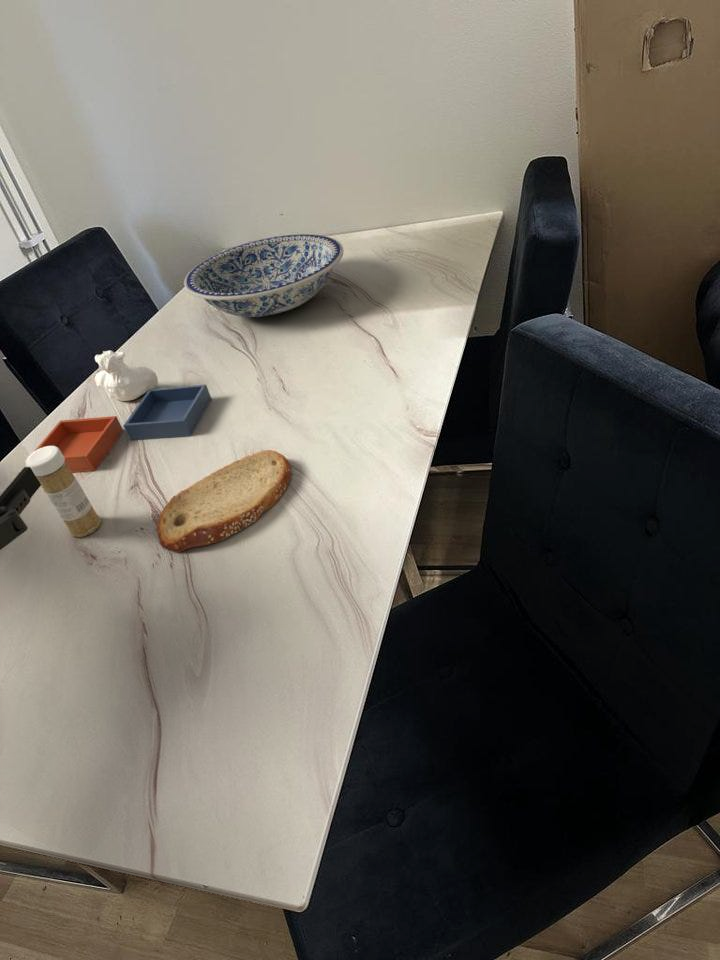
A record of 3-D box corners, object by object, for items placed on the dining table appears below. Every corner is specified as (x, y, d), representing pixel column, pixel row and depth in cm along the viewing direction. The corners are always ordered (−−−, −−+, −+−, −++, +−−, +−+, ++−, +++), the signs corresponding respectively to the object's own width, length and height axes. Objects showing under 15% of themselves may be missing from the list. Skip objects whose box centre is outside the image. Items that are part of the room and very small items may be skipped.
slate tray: (130, 440, 113) (123, 425, 111) (155, 403, 121) (149, 389, 119) (190, 436, 110) (184, 421, 108) (211, 399, 119) (206, 384, 117)
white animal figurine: (108, 409, 128) (71, 389, 117) (110, 372, 130) (74, 349, 119) (165, 403, 125) (132, 382, 115) (166, 365, 127) (134, 341, 116)
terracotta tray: (35, 474, 110) (26, 459, 108) (68, 434, 119) (60, 420, 117) (95, 471, 108) (86, 456, 106) (123, 430, 116) (116, 415, 114)
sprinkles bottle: (90, 513, 99) (46, 441, 90) (108, 522, 96) (65, 448, 88) (64, 533, 96) (17, 460, 88) (82, 542, 94) (35, 468, 85)
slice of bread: (294, 455, 100) (288, 435, 98) (284, 538, 86) (276, 517, 84) (181, 473, 102) (172, 454, 100) (153, 557, 88) (142, 537, 86)
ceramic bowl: (383, 283, 144) (375, 237, 138) (266, 357, 127) (251, 309, 121) (282, 263, 165) (271, 223, 159) (170, 324, 149) (153, 282, 142)
